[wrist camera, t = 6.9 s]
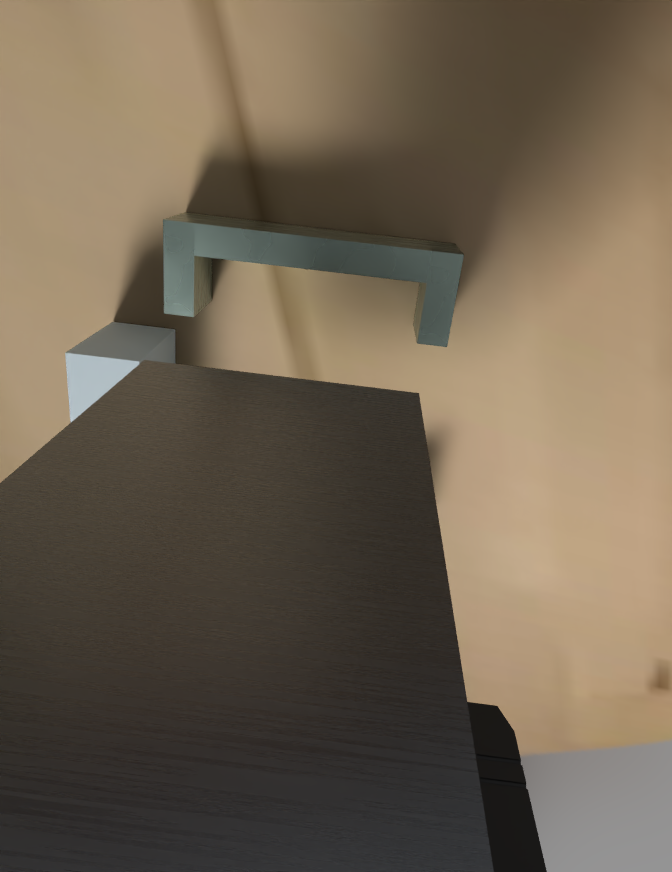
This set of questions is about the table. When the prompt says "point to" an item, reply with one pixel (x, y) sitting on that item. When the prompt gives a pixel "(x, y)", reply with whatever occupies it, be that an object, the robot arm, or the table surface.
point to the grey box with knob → (232, 637)
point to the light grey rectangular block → (112, 360)
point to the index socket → (308, 262)
